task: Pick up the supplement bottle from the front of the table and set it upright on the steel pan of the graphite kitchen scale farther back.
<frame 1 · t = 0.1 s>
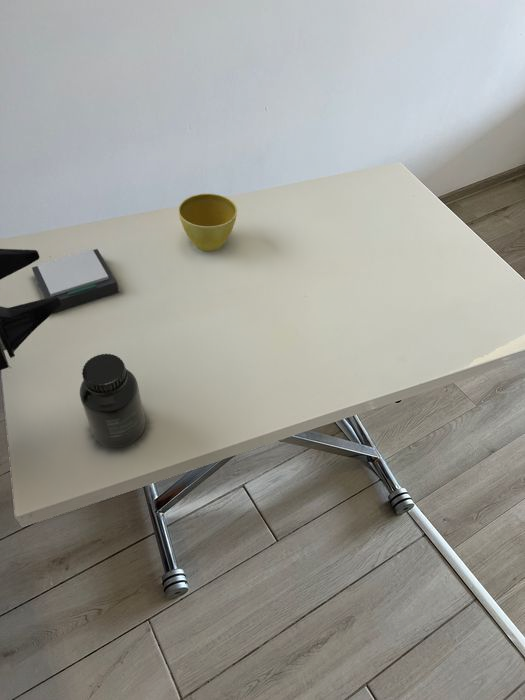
hand: (49, 276, 62), 18 cm above the table, tool horizontal, fingers open, 9 cm apart
kitchen scale: (77, 285, 88), on the table
supplement bottle: (119, 427, 70), on the table
flower pot: (209, 244, 97), on the table
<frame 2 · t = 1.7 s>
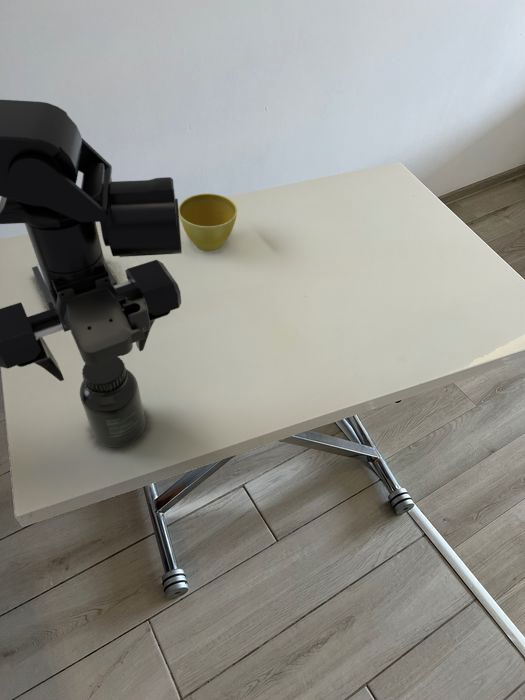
hand: (101, 362, 60), 13 cm above the table, tool pointing down, fingers open, 9 cm apart
nothing on the table moved.
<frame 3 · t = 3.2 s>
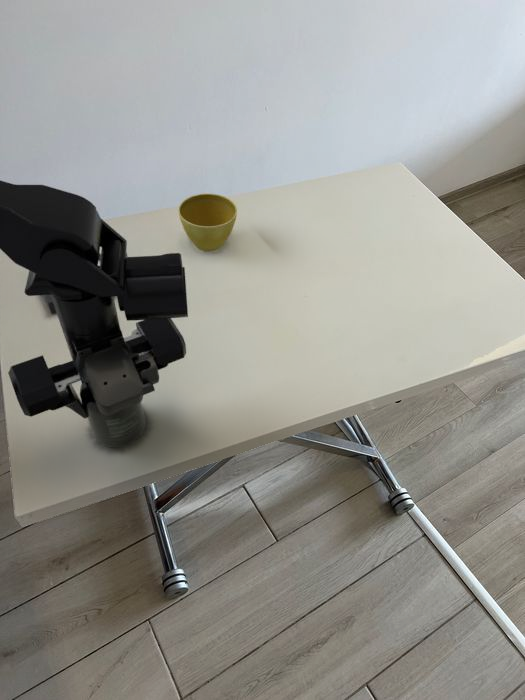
hand: (112, 404, 66), 5 cm above the table, tool pointing down, fingers closed on supplement bottle, 7 cm apart
supplement bottle: (119, 427, 70), on the table, touching gripper
everything else where it was.
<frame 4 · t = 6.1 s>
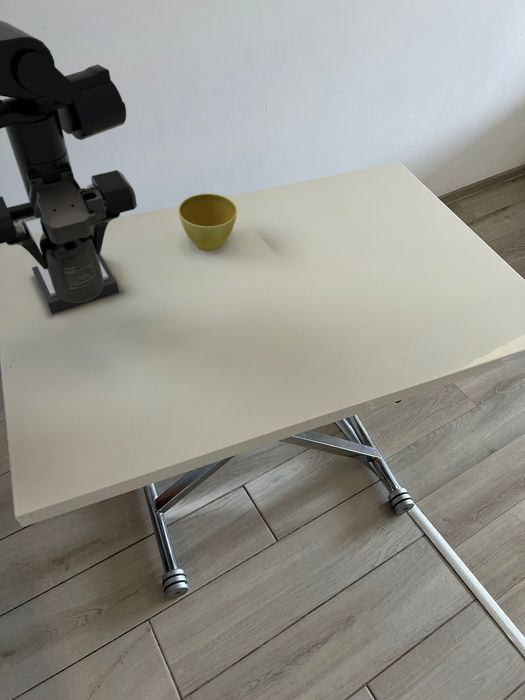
hand: (71, 260, 72), 13 cm above the table, tool pointing down, fingers closed on supplement bottle, 7 cm apart
supplement bottle: (80, 289, 76), point 8 cm above the table, touching gripper
everything else where it was.
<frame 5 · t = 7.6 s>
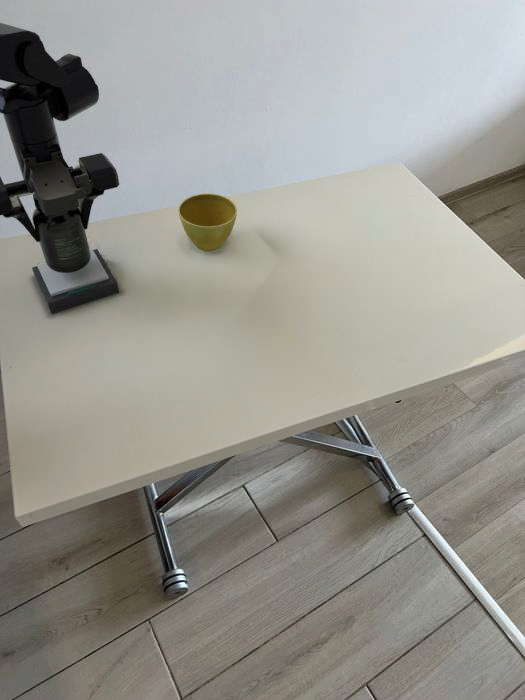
hand: (61, 234, 80), 10 cm above the table, tool pointing down, fingers closed on supplement bottle, 7 cm apart
supplement bottle: (69, 261, 84), point 5 cm above the table, touching gripper
everything else where it was.
when the fingers open (8 cm above the table, at t = 8.9 s): supplement bottle stays where it is, resting on kitchen scale.
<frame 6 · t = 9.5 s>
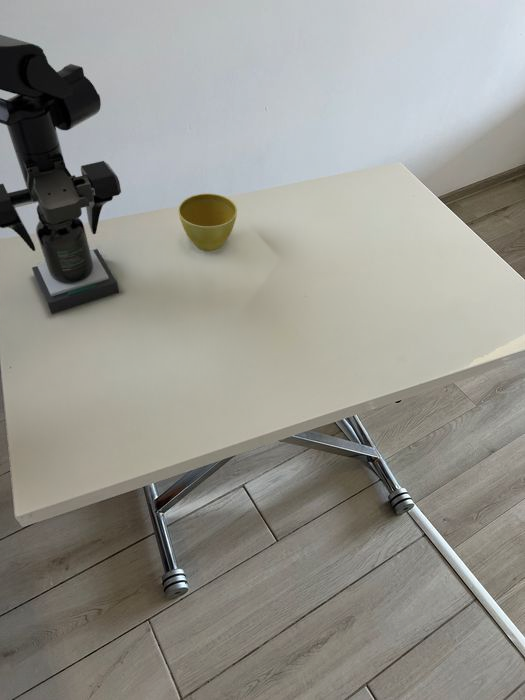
hand: (64, 240, 81), 9 cm above the table, tool pointing down, fingers open, 9 cm apart
supplement bottle: (72, 271, 86), point 3 cm above the table, touching kitchen scale
everything else where it was.
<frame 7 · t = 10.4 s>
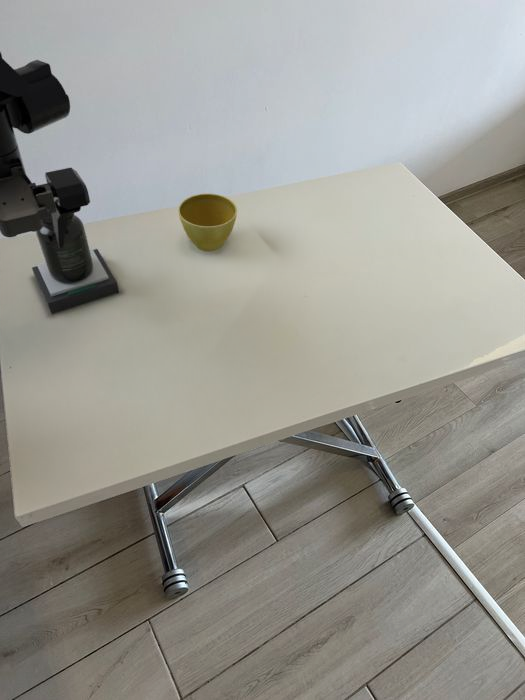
hand: (27, 255, 73), 12 cm above the table, tool pointing down, fingers open, 9 cm apart
nothing on the table moved.
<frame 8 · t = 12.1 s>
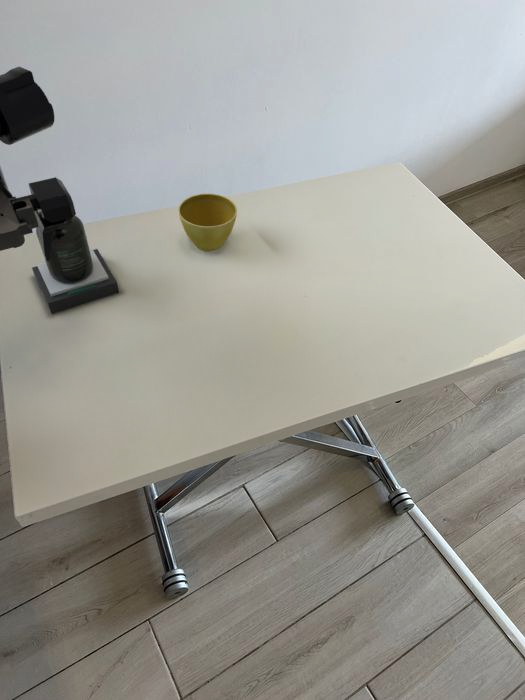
hand: (12, 269, 70), 13 cm above the table, tool pointing down, fingers open, 9 cm apart
nothing on the table moved.
at the end: supplement bottle 0.1 cm off-centre on the kitchen scale, point 2.8 cm above the kitchen scale's base; supplement bottle tilted 0°; the gripper is holding nothing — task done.
